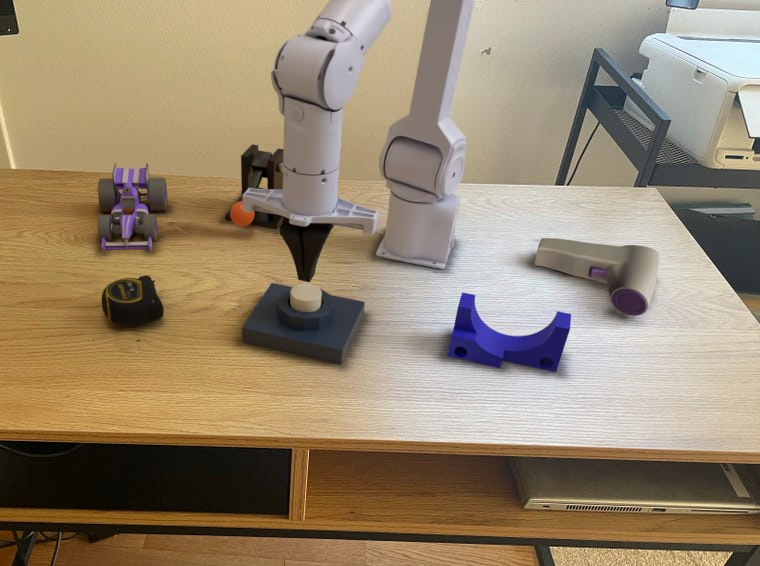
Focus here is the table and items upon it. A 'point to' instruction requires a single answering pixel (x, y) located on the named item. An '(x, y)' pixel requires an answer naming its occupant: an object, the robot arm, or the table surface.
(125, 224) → the toy race car
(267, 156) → the lever
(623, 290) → the infrared thermometer
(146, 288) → the tape measure
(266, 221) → the bracket
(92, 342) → the table surface
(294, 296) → the button
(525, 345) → the blue semicircular cradle
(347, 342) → the control block
